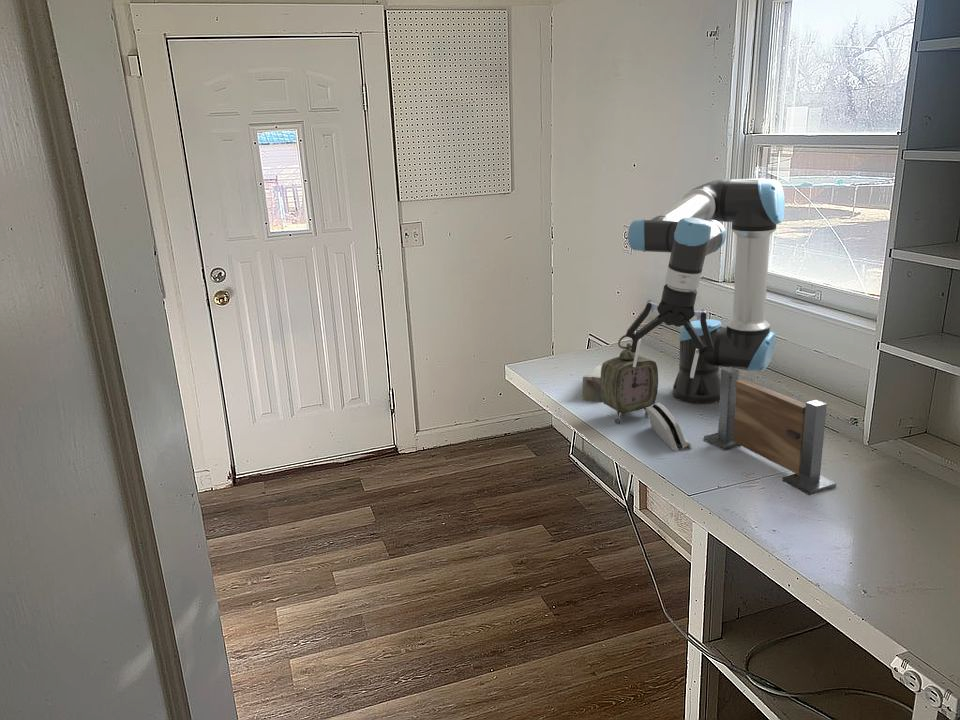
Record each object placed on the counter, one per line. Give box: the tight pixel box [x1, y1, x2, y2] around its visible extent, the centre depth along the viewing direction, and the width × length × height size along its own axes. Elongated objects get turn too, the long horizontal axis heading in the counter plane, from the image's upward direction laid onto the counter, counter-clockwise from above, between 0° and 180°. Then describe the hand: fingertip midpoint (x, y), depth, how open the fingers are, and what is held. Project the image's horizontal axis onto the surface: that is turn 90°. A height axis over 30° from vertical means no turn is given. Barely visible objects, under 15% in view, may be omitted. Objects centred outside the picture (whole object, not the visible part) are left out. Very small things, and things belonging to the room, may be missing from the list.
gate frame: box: [703, 367, 837, 496], centre depth 181 cm, size 8×36×20 cm, turn 24°
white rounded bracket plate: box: [645, 402, 693, 452], centre depth 199 cm, size 17×5×10 cm, turn 8°
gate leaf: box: [733, 378, 806, 475], centre depth 180 cm, size 3×22×17 cm, turn 24°
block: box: [582, 364, 604, 403], centre depth 236 cm, size 19×8×8 cm, turn 158°
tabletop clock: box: [600, 334, 659, 425], centre depth 212 cm, size 14×9×25 cm, turn 115°
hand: (662, 370), depth 179 cm, fingers open, 13 cm apart
